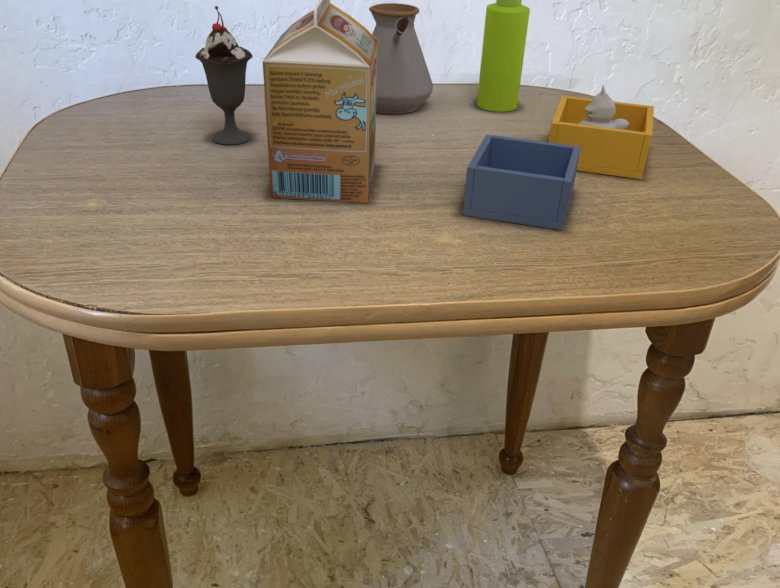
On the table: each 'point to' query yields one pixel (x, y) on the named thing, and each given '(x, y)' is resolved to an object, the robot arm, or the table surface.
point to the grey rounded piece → (603, 113)
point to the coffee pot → (399, 60)
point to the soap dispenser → (502, 55)
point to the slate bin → (521, 181)
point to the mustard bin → (605, 137)
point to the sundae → (225, 79)
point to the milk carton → (322, 108)
